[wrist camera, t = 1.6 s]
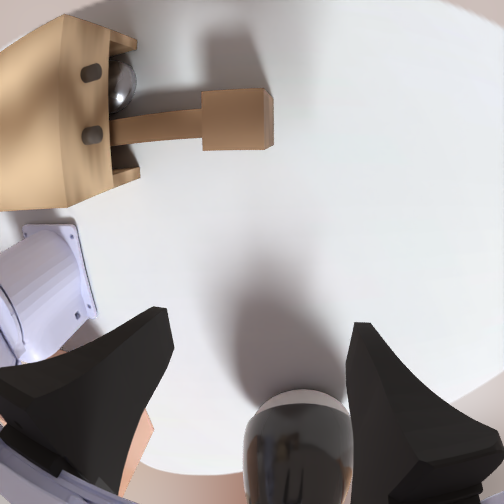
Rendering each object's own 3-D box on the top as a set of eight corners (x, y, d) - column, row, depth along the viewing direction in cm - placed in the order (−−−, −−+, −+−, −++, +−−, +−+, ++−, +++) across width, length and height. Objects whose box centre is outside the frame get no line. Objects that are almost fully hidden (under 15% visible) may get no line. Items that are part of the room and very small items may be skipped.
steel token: (138, 108, 19) (130, 108, 18) (95, 116, 19) (86, 117, 18) (138, 57, 17) (130, 54, 16) (95, 69, 18) (86, 67, 17)
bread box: (149, 177, 20) (78, 207, 13) (56, 185, 22) (-13, 212, 14) (146, 37, 16) (75, 8, 9) (51, 69, 18) (-21, 67, 10)
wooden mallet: (273, 145, 18) (264, 149, 14) (75, 158, 21) (31, 170, 16) (272, 41, 16) (262, 14, 11) (72, 77, 18) (28, 74, 13)
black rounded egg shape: (376, 389, 25) (393, 537, 11) (319, 441, 29) (311, 559, 15) (280, 356, 25) (252, 528, 11) (237, 415, 29) (202, 542, 15)
